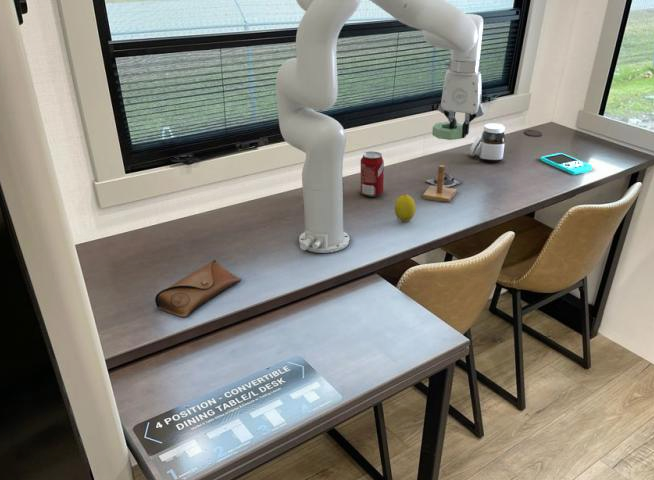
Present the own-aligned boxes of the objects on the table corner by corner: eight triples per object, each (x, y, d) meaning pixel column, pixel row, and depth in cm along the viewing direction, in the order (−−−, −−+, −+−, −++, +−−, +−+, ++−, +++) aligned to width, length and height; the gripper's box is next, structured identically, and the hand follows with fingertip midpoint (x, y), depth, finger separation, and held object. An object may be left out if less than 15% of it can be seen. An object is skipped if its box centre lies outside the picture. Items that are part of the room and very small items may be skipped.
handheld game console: (572, 175, 196) (573, 171, 195) (539, 160, 208) (539, 156, 207) (594, 170, 200) (595, 166, 200) (560, 155, 212) (561, 152, 211)
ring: (459, 141, 164) (460, 132, 162) (429, 137, 166) (430, 128, 165) (466, 132, 170) (467, 124, 169) (437, 129, 173) (438, 120, 171)
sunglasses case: (186, 317, 121) (169, 288, 119) (167, 323, 125) (150, 296, 124) (244, 278, 135) (229, 252, 133) (224, 285, 139) (210, 259, 137)
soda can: (373, 200, 175) (374, 160, 168) (355, 194, 178) (355, 154, 172) (387, 193, 180) (388, 154, 173) (370, 187, 183) (370, 149, 176)
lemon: (418, 222, 163) (420, 194, 159) (405, 228, 160) (406, 200, 155) (403, 215, 166) (404, 188, 162) (389, 221, 163) (390, 194, 158)
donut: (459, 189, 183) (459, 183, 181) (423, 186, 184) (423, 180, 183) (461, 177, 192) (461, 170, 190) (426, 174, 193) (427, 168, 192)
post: (449, 202, 175) (451, 172, 170) (422, 198, 177) (424, 168, 172) (455, 192, 181) (458, 163, 176) (430, 188, 183) (432, 159, 178)
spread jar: (503, 165, 202) (508, 131, 196) (470, 164, 202) (473, 130, 196) (498, 153, 212) (502, 120, 206) (466, 152, 212) (469, 119, 206)
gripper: (430, 66, 157) (426, 136, 166) (492, 72, 152) (484, 143, 162) (438, 61, 163) (434, 129, 172) (497, 66, 158) (489, 136, 168)
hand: (458, 135), depth 167 cm, fingers closed on ring, 2 cm apart
